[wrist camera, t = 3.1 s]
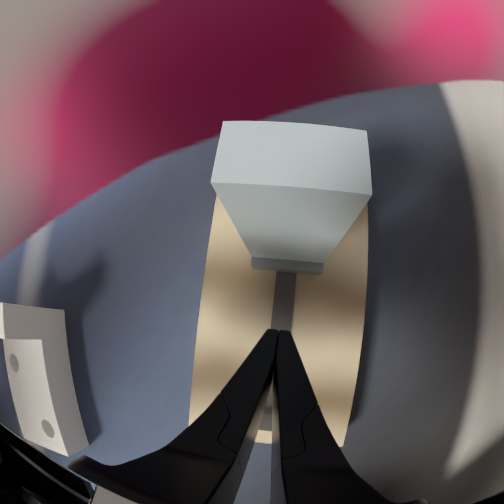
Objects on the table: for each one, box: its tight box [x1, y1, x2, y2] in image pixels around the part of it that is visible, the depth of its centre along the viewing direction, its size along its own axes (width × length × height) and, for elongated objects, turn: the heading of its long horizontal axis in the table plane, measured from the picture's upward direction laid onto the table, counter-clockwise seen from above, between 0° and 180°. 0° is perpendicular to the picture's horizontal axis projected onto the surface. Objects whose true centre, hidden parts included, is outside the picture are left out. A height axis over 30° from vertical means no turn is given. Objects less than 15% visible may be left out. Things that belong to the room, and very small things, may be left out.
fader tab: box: [211, 121, 372, 275], centre depth 12 cm, size 3×4×10 cm
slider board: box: [189, 195, 368, 447], centre depth 17 cm, size 19×10×2 cm, turn 173°
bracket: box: [0, 302, 89, 457], centre depth 15 cm, size 13×7×8 cm, turn 8°
